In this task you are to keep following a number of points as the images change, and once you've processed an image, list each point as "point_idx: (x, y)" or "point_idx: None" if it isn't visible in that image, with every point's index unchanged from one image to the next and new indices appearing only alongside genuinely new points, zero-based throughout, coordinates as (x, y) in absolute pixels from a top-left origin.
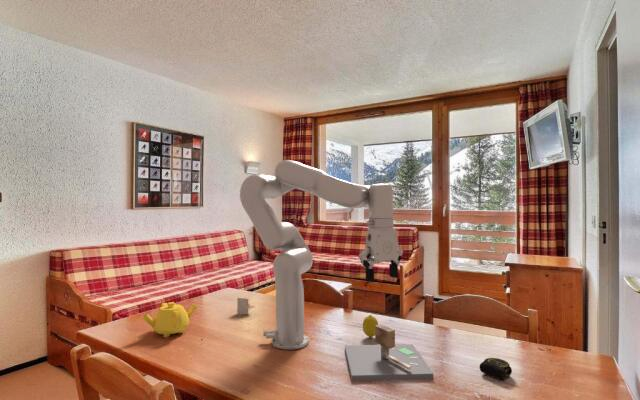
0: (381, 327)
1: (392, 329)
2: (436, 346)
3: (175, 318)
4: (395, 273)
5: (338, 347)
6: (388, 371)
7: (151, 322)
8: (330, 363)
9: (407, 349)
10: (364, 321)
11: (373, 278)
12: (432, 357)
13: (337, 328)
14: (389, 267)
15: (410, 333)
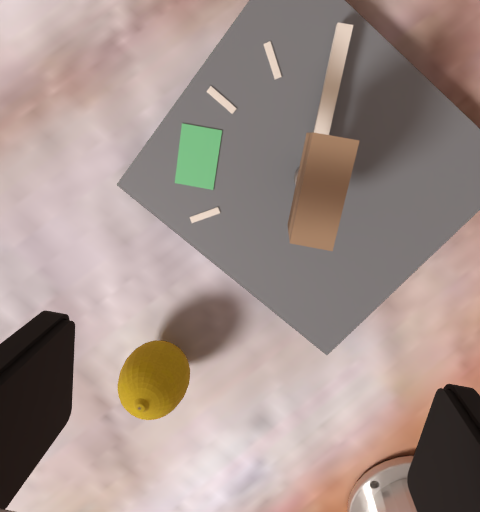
0: (330, 210)
1: (314, 147)
2: (29, 128)
3: None
4: (45, 353)
5: (322, 376)
6: (399, 93)
7: None
8: (447, 310)
9: (178, 164)
10: (176, 403)
11: (478, 408)
12: (127, 77)
13: (195, 484)
14: (6, 506)
15: (11, 276)
